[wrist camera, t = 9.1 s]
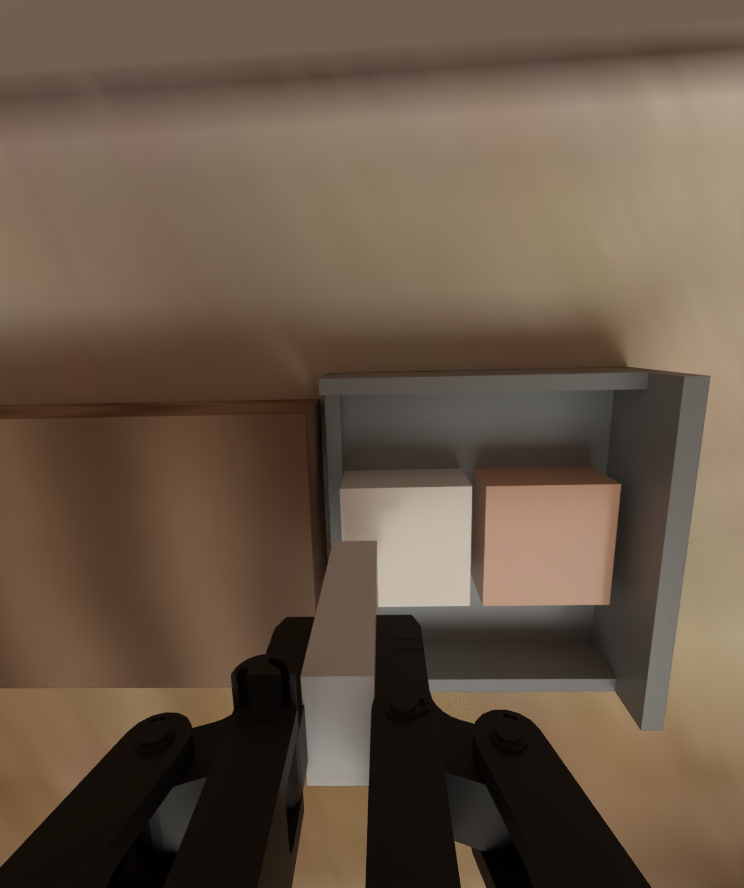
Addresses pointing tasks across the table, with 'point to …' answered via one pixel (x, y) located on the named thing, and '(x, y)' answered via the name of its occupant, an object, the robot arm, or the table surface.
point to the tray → (543, 445)
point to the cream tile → (413, 532)
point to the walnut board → (155, 539)
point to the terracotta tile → (543, 535)
